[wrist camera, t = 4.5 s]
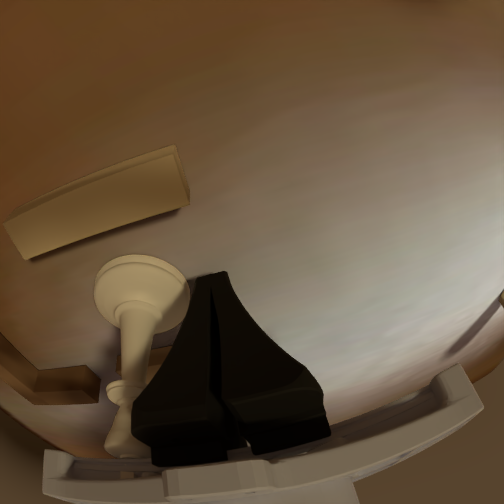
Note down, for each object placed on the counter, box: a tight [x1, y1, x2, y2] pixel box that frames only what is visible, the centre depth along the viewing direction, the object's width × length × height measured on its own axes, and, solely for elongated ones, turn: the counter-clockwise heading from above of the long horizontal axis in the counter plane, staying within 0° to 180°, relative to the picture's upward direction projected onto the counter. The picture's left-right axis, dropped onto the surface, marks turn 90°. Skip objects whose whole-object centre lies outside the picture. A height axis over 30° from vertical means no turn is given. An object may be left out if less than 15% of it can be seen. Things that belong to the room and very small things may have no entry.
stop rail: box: [0, 333, 101, 405], centre depth 13 cm, size 14×7×2 cm, turn 11°
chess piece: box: [94, 255, 190, 479], centre depth 10 cm, size 5×5×10 cm
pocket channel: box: [3, 144, 190, 384], centre depth 14 cm, size 13×8×1 cm, turn 11°
